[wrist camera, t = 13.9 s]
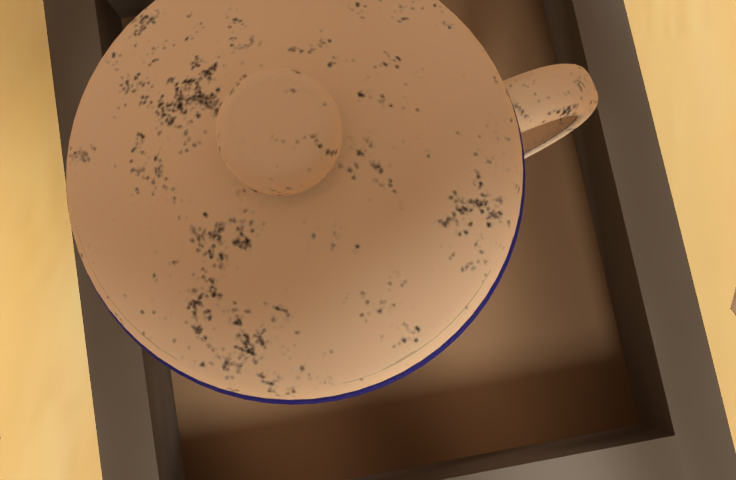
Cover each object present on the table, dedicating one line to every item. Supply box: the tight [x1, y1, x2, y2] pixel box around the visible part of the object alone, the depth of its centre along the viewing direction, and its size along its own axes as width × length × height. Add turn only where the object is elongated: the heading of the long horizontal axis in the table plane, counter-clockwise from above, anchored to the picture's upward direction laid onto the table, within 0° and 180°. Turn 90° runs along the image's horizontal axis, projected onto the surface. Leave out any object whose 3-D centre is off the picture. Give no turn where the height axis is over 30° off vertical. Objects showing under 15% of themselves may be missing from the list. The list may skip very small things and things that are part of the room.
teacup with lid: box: [66, 0, 598, 405], centre depth 16 cm, size 12×9×12 cm
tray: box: [43, 0, 736, 480], centre depth 22 cm, size 17×19×4 cm
